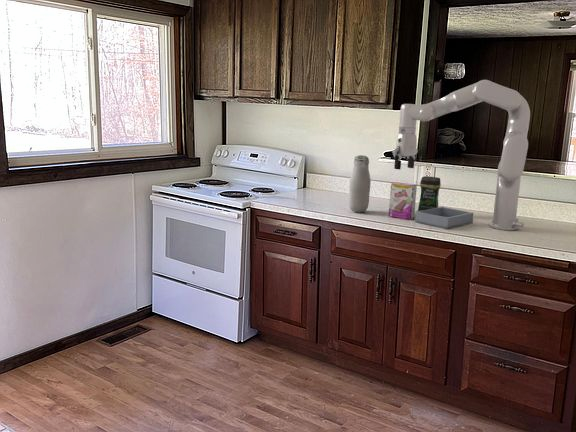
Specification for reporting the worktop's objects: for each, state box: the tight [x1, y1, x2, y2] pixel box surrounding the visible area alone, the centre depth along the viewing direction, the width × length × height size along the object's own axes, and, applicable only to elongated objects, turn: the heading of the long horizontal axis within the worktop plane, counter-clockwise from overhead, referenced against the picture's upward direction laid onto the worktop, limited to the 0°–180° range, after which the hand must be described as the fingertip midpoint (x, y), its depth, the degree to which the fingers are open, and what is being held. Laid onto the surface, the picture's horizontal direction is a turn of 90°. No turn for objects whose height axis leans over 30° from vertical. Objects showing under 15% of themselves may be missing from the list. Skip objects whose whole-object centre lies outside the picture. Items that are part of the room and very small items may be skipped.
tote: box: [414, 206, 474, 230], centre depth 253 cm, size 17×20×5 cm
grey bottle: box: [348, 154, 372, 213], centre depth 270 cm, size 10×10×28 cm
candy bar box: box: [388, 181, 418, 221], centre depth 260 cm, size 11×5×16 cm, turn 58°
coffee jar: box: [417, 175, 442, 211], centre depth 270 cm, size 10×8×19 cm
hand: (404, 168), depth 257 cm, fingers open, 9 cm apart
